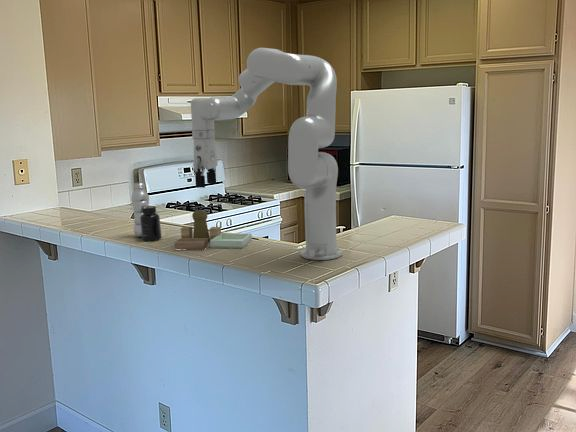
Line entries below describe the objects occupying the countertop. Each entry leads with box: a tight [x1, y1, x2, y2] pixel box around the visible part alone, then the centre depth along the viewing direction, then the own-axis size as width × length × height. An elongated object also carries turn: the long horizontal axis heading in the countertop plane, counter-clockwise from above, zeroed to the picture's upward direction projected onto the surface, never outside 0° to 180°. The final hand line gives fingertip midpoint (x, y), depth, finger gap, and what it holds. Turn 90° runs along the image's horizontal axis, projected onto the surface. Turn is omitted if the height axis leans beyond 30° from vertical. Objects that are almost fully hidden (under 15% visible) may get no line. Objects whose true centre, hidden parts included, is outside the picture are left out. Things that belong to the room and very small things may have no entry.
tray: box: [209, 232, 253, 249], centre depth 194 cm, size 11×11×2 cm
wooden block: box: [173, 237, 210, 251], centre depth 191 cm, size 6×10×3 cm, turn 83°
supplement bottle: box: [140, 205, 162, 242], centre depth 205 cm, size 7×7×12 cm
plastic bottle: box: [130, 182, 150, 238], centre depth 210 cm, size 6×7×20 cm
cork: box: [191, 209, 210, 243], centre depth 199 cm, size 6×6×11 cm
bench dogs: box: [180, 226, 222, 240], centre depth 199 cm, size 3×14×5 cm, turn 77°
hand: (206, 185), depth 196 cm, fingers open, 9 cm apart
